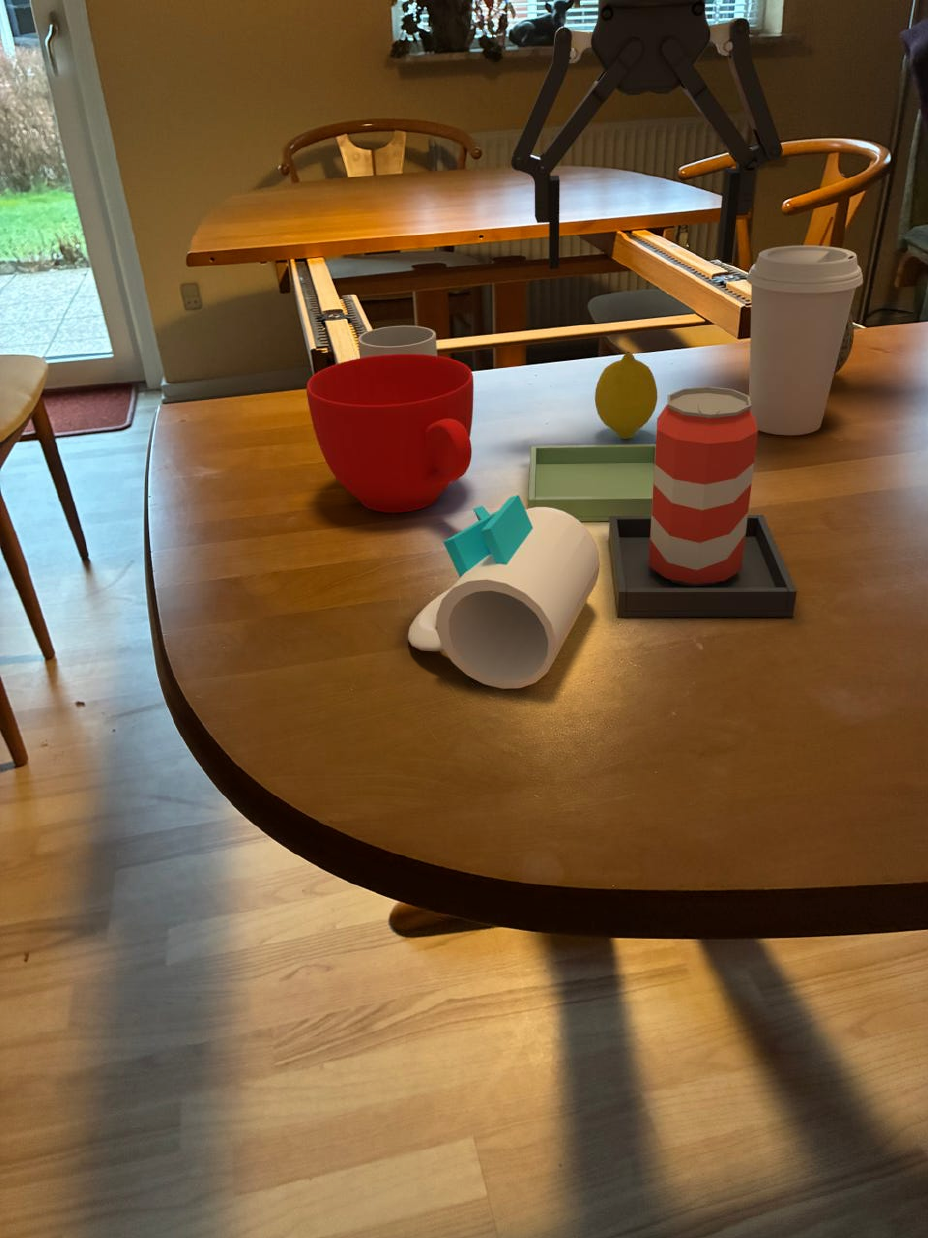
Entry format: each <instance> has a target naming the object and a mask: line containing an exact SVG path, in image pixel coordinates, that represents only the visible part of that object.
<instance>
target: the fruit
mask: <svg viewBox="0 0 928 1238" xmlns="http://www.w3.org/2000/svg"><path fill="white" fill-rule="evenodd" d="M658 398H659V397H658V388H657V384H656V379H655V376H654V374H653V372H652V370H651V369H650V367H649V366H648V365H646V364H645V363H643V362H642V361H640V360H637V359H636V358H635V356H634V354H633V353H632V352H631V351H627V352H626V353H624V354H623V356H622V358H621V359H619V360H616V361H614V362H612V363H610V364H609V365H607V366H606V367H605V368H604V369H603V371H602V373H601V374H600V376H599V379H598V380H597V383H596V387H595V393H594V402H595V404H594V405H595V408H596V409H595V410H596V412H597V415H598V417H599V418H600V420H601V421H602V423H603V425H605V426H606V427H607V428H609V429H610V430H611V431H613V432H615V433H616V435H617V436H618V438H621V439H623V440H628V439H631V438H632V437H633V436H635V434H636V432H638V431H639V430H640V429H641V428H643V427H644V426H645V425H646V424H647V423H648V422H649V420H650V419H651V418H652V416H653V414H654V412H655V410H656V407H657V405H658Z"/></svg>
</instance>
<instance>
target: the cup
mask: <svg viewBox="0 0 928 1238" xmlns="http://www.w3.org/2000/svg"><path fill="white" fill-rule="evenodd" d="M357 344H358V345H357V346H358V355H359V358H364V357H371V356H379V355H391V354H424V355H433V356H438V348H437V332H435V330H433V329H431V328H429V327H424V326H418V325H393V326H384V327H379V328H375V329H371V330H368V331H365V332H363V333H362V334H360V335H359V336H358V337H357Z"/></svg>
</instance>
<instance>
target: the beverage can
mask: <svg viewBox="0 0 928 1238" xmlns="http://www.w3.org/2000/svg"><path fill="white" fill-rule="evenodd" d="M750 409H751V401H750V396H749V394H745V393H743V392H740V391H738V390H735V389H733V388H725V387H717V386H698V387H688V388H687V387H686V388H681V389H678V390H677V391H674V392H672V393H670V394H667V403H666V405H665V407H664V408H663V410H662V411H661V413H660V414H659V415H658V417H657V420H656V436H655V444H656V450H655V466H654V482H653V499H652V515H651V531H650V547H649V567H651V568H652V569H654V570H655V571H657V572H658V573H659V574H661V575H662V576H664V577H665V578H667V579H669V580H670V581H672V582H673V583H678V584H683V585H688V586H693V587H696V586H705V585H714V584H717V583H718V582H720V581H725V580H727V579H728V578H730V577H731V576H733V575H734V574H736V573H737V572H739V571H740V570H741V568H742V560H743V551H744V543H745V535H746V527H747V518H748V515H749V509H750V501H751V492H752V485H753V477H754V469H755V468H754V467H755V460H756V452H757V444H758V443H757V442H758V435H759V430H758V429H757V425H756V420H755V418H754V416H753V414H752V412H751V410H750Z"/></svg>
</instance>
